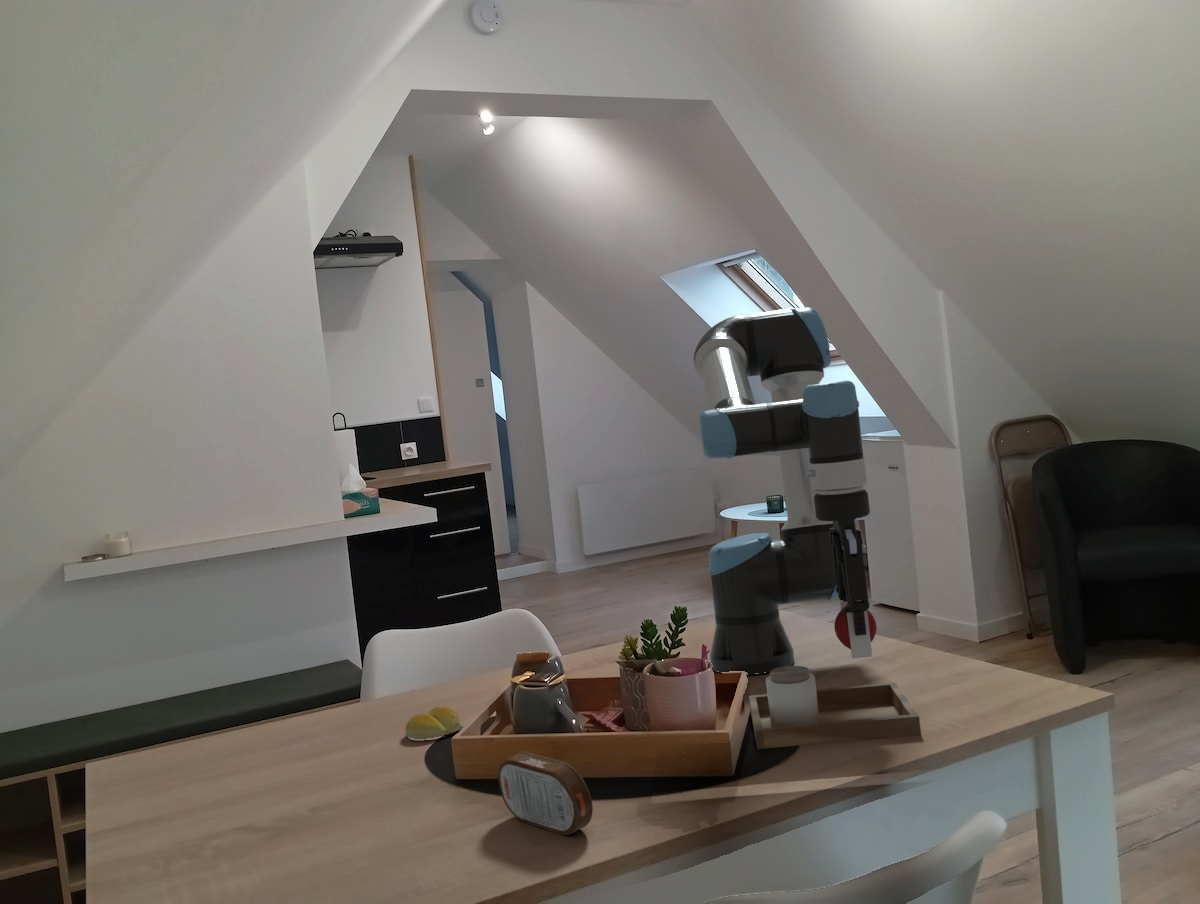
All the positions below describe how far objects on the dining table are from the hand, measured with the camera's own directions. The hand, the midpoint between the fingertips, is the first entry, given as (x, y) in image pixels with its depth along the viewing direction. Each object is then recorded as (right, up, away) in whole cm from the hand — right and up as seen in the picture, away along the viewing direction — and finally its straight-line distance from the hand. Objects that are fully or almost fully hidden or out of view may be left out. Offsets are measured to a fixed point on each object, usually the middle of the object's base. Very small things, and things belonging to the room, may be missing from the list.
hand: (858, 650), depth 142 cm
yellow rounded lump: (-64, -19, +23) cm, 70 cm away
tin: (-43, -18, -20) cm, 51 cm away
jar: (-9, -11, +2) cm, 14 cm away
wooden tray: (-4, -12, +1) cm, 12 cm away
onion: (0, -1, 0) cm, 1 cm away
